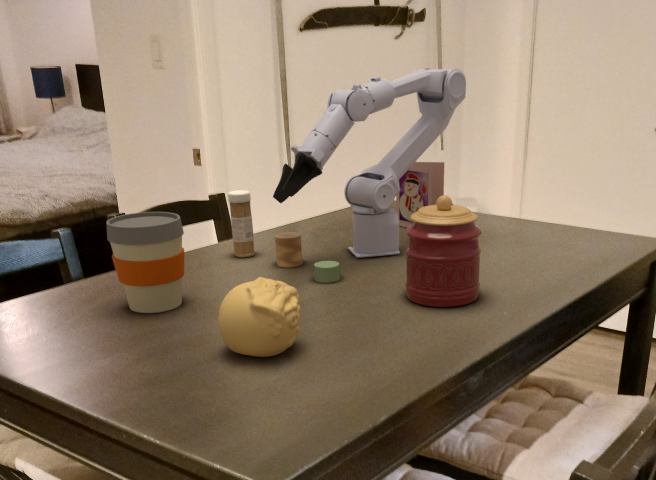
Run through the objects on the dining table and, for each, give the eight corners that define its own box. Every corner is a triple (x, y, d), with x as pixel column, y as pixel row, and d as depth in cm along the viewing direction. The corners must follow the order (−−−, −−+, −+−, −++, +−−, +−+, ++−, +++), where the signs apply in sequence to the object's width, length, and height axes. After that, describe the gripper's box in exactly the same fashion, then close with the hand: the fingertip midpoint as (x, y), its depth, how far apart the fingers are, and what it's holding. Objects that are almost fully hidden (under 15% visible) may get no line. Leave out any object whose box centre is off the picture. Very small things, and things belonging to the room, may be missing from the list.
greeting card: (393, 225, 185) (393, 162, 179) (414, 220, 190) (415, 158, 183) (428, 233, 177) (429, 167, 171) (449, 227, 182) (451, 163, 176)
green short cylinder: (336, 274, 148) (336, 259, 147) (342, 281, 144) (342, 266, 143) (312, 277, 147) (311, 261, 146) (317, 284, 143) (316, 268, 142)
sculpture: (291, 366, 107) (286, 293, 103) (210, 362, 109) (202, 290, 105) (311, 337, 118) (307, 269, 113) (236, 334, 120) (230, 267, 115)
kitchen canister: (449, 313, 126) (452, 206, 119) (390, 298, 134) (389, 197, 127) (493, 294, 135) (498, 193, 127) (435, 281, 143) (437, 185, 135)
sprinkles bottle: (248, 251, 166) (242, 188, 160) (259, 255, 162) (254, 191, 157) (229, 255, 163) (223, 191, 157) (240, 259, 160) (234, 194, 154)
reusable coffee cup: (103, 312, 131) (88, 225, 124) (147, 290, 141) (135, 209, 135) (164, 319, 126) (152, 230, 120) (205, 297, 137) (196, 213, 131)
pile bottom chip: (299, 259, 159) (299, 245, 157) (304, 266, 154) (303, 251, 153) (275, 261, 157) (274, 247, 156) (279, 268, 153) (278, 253, 152)
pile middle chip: (293, 245, 158) (292, 230, 157) (306, 250, 154) (305, 235, 153) (271, 249, 155) (270, 234, 154) (284, 254, 151) (282, 239, 150)
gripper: (296, 136, 151) (256, 189, 149) (317, 117, 138) (274, 175, 136) (323, 160, 154) (285, 212, 152) (347, 143, 140) (305, 201, 138)
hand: (282, 196), depth 144 cm, fingers open, 7 cm apart
